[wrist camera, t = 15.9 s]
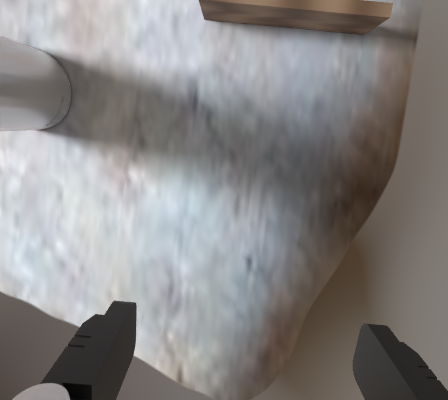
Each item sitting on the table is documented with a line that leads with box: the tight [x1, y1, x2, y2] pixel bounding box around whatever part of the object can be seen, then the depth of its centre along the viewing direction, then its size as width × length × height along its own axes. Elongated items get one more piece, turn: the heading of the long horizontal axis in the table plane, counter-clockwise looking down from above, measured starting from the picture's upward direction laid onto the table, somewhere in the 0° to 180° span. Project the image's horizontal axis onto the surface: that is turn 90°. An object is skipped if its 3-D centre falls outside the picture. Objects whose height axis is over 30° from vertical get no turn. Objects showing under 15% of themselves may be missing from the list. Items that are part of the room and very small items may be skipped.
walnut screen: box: [199, 0, 393, 34], centre depth 32 cm, size 18×1×6 cm, turn 85°
